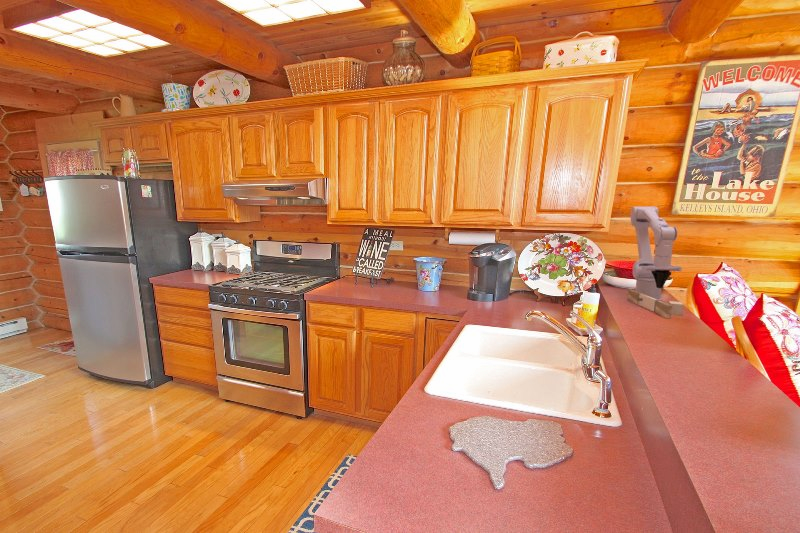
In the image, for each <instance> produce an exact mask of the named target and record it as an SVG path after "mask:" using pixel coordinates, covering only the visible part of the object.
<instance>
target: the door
mask: <svg viewBox="0 0 800 533" xmlns="http://www.w3.org/2000/svg"><path fill="white" fill-rule="evenodd" d="M638 300H639V303H638V306H640V307H642V308H644V309H647V310H649V311H651V312H653V313H655V308H656V301H659V300H657V299H654V298H652V297H649V296H647V295H644V294H639V299H638Z"/></svg>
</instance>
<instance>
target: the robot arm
mask: <svg viewBox="0 0 800 533" xmlns="http://www.w3.org/2000/svg"><path fill="white" fill-rule="evenodd" d="M629 216H630V223H631V226H632V227H634V229H635V236H636V237H635V238H636V244H637V251H638V259H637V260H636V261H635V262H634V263H633V265H632V276H633V278H634V279H635V282H636V283H635V290H634V291H637V292H639V293H642V294H644V295H647V296H649V297H652V298H654V299H657V300H659V301H662V299H661V298H662V289H663V288H664V286H665V283H666V282H667V280H668V278H669V277H670V276H672V272H682V269H683V266H678V265H671V264H672V255H673V246H674V241H676V240H677V237H678V230H677V227H676V226H670V225H669V224H668V223H667V221H666V220H665V219H664V218H663V217H659V208H658V207H657V206H656V205H654V206H633V207H632V208H631V210H630V215H629ZM649 228H650V230H652V232H653V238H654V245H655V249H654V256H653V255H652V249H651V242H650V234H649ZM652 256H653V257H652Z"/></svg>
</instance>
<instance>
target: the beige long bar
mask: <svg viewBox="0 0 800 533" xmlns="http://www.w3.org/2000/svg"><path fill="white" fill-rule="evenodd" d="M639 294H642V293H639V292H637V291H635V290H634V289H627V301H629V302H631V303H633V304H636V305H638V303H639V300H638V299H639ZM638 306H639V305H638ZM671 312H672V305H669V304H668V303H666V302H663V301H662V300H661V301H656V308H655V312H654V314H656V313H657V314H656V315H658V314H659V316H660V315H661V316H660V317H663V318H665V319H672V315H671Z"/></svg>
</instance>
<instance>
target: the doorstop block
mask: <svg viewBox="0 0 800 533" xmlns="http://www.w3.org/2000/svg"><path fill="white" fill-rule="evenodd" d="M667 304H669V305H672V312H671V316H683V313H684V305H685V304H684V303H682V302H681V301H674V300H672V301H671V300H669V301H668V303H667Z"/></svg>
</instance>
